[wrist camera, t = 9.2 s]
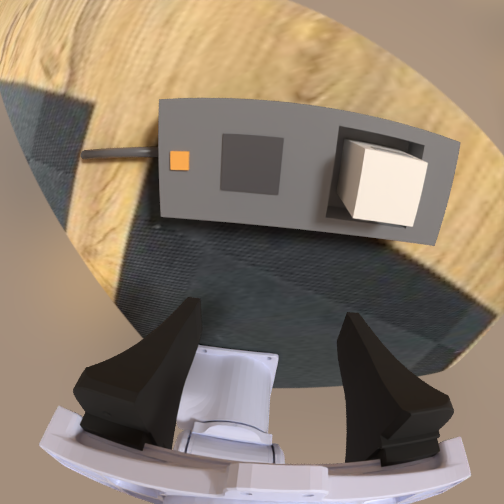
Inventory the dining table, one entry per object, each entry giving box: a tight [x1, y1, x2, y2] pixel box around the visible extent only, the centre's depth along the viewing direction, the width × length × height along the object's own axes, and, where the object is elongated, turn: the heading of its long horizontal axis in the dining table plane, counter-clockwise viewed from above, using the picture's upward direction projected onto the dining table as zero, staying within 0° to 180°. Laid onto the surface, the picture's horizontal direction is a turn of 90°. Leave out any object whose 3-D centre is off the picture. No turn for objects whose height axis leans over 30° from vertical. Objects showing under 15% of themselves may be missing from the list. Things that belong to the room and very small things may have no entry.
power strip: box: [81, 98, 460, 246], centre depth 18 cm, size 29×8×4 cm, turn 86°
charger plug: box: [337, 138, 428, 227], centre depth 17 cm, size 4×4×5 cm
